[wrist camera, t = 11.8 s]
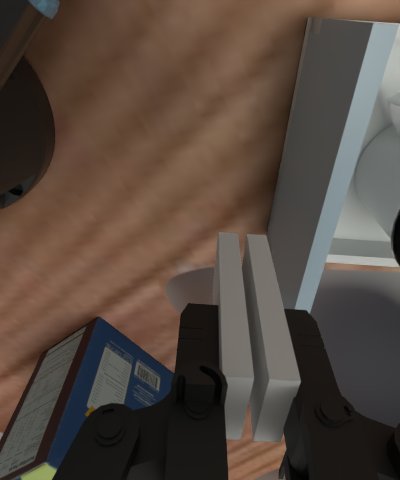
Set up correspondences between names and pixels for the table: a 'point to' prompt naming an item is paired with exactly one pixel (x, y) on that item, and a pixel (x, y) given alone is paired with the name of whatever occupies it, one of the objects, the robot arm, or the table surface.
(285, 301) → the tray
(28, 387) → the protein box
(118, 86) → the table surface
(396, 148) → the mug
